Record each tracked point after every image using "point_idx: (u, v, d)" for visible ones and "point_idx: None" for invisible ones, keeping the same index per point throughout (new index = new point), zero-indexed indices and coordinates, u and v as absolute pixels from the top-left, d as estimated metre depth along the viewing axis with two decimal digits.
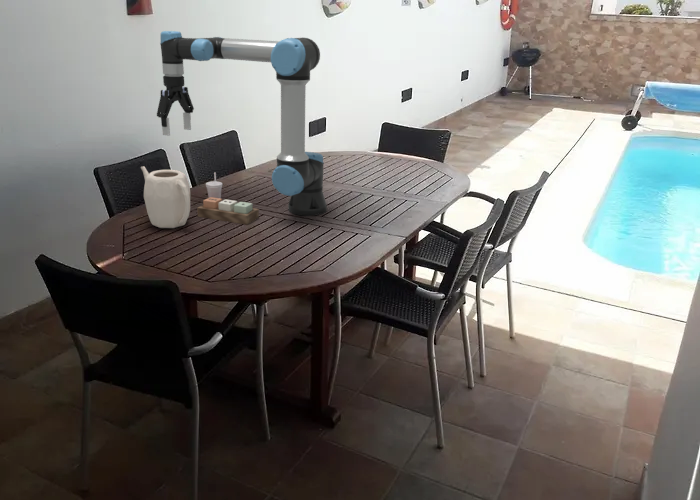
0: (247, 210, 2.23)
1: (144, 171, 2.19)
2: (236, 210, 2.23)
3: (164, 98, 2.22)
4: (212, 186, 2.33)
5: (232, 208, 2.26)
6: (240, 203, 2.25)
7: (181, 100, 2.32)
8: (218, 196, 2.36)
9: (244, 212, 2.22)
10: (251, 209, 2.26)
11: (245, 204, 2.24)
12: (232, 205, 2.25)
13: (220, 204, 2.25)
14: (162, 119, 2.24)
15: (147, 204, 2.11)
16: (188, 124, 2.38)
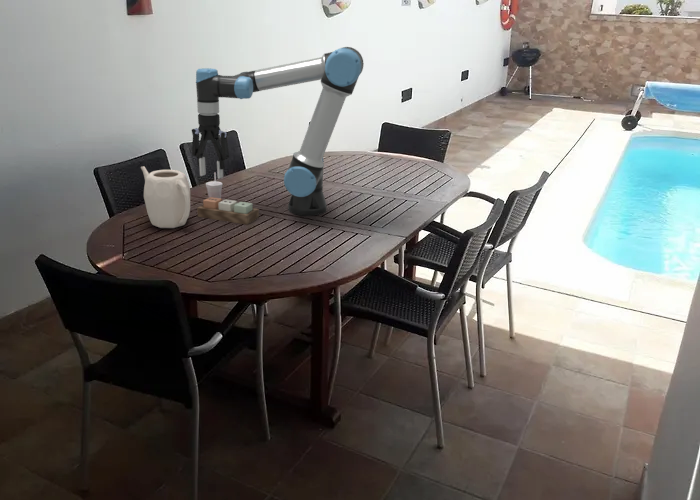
0: (247, 210, 2.23)
1: (144, 171, 2.19)
2: (236, 210, 2.23)
3: None
4: (212, 186, 2.33)
5: (232, 208, 2.26)
6: (240, 203, 2.25)
7: None
8: (218, 196, 2.36)
9: (244, 212, 2.22)
10: (251, 209, 2.26)
11: (245, 204, 2.24)
12: (232, 205, 2.25)
13: (220, 204, 2.25)
14: None
15: (147, 204, 2.11)
16: None
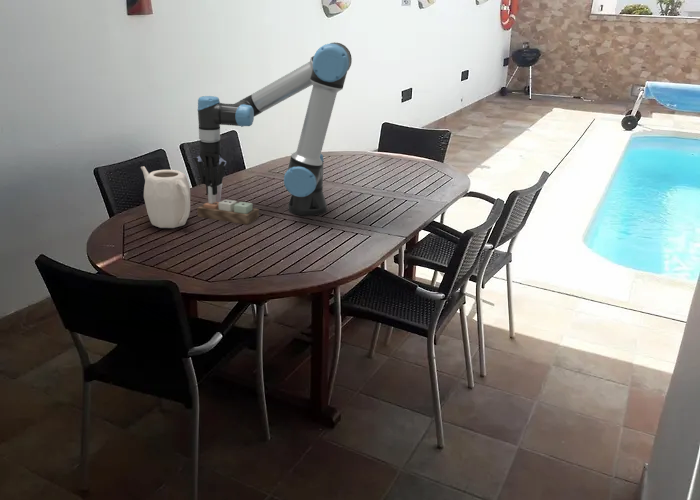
0: (247, 210, 2.23)
1: (144, 171, 2.19)
2: (236, 210, 2.23)
3: None
4: None
5: (232, 208, 2.26)
6: (240, 203, 2.25)
7: None
8: (218, 196, 2.36)
9: (244, 212, 2.22)
10: (251, 209, 2.26)
11: (245, 204, 2.24)
12: (232, 205, 2.25)
13: (220, 204, 2.25)
14: None
15: (147, 204, 2.11)
16: None
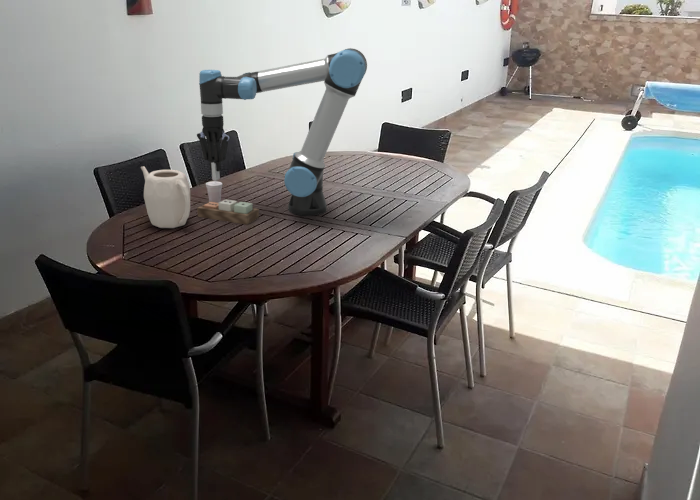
0: (247, 210, 2.23)
1: (144, 171, 2.19)
2: (236, 210, 2.23)
3: None
4: (212, 186, 2.33)
5: (232, 208, 2.26)
6: (240, 203, 2.25)
7: None
8: (218, 196, 2.36)
9: (244, 212, 2.22)
10: (251, 209, 2.26)
11: (245, 204, 2.24)
12: (232, 205, 2.25)
13: (220, 204, 2.25)
14: None
15: (147, 204, 2.11)
16: None
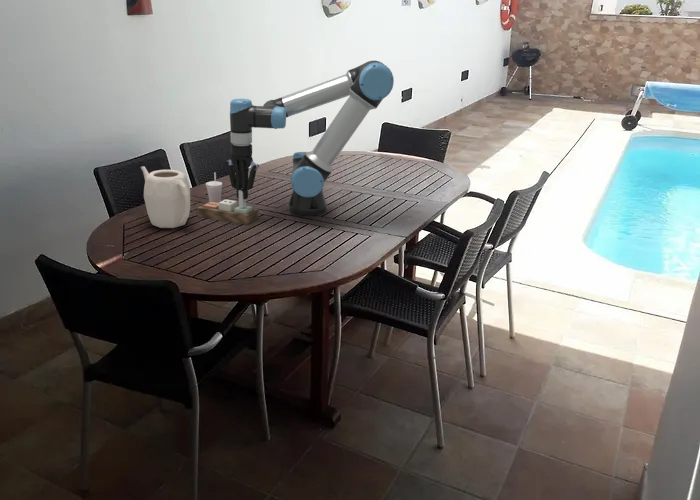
0: None
1: (144, 171, 2.19)
2: None
3: None
4: (212, 186, 2.33)
5: (232, 208, 2.26)
6: None
7: None
8: (218, 196, 2.36)
9: None
10: None
11: (245, 207, 2.25)
12: (232, 205, 2.25)
13: (220, 204, 2.25)
14: None
15: (147, 204, 2.11)
16: None
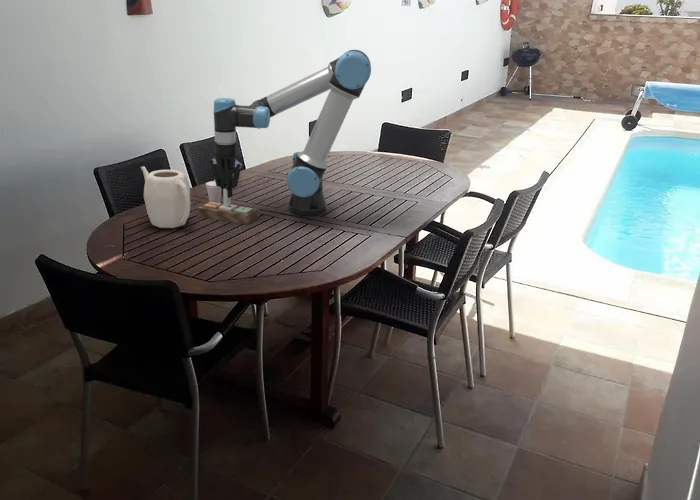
0: None
1: (144, 171, 2.19)
2: None
3: None
4: (212, 186, 2.33)
5: None
6: (240, 208, 2.26)
7: None
8: (218, 196, 2.36)
9: None
10: None
11: (245, 209, 2.25)
12: (232, 209, 2.26)
13: (220, 208, 2.25)
14: None
15: (147, 204, 2.11)
16: None
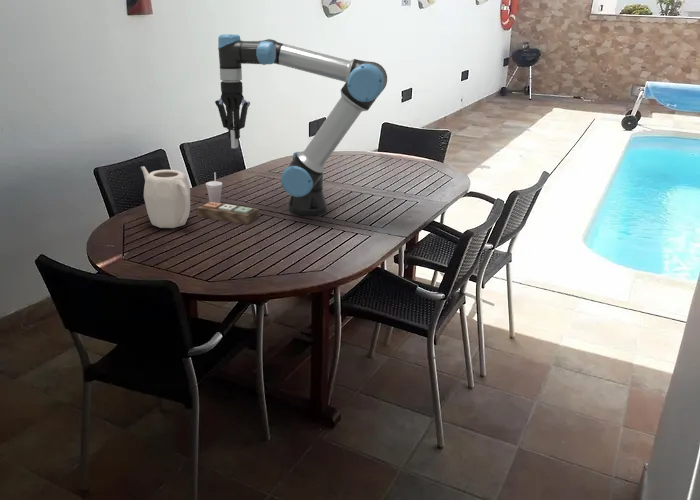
0: None
1: (144, 171, 2.19)
2: None
3: None
4: (212, 186, 2.33)
5: None
6: (240, 208, 2.26)
7: None
8: (218, 196, 2.36)
9: None
10: None
11: (245, 209, 2.25)
12: (232, 210, 2.26)
13: (220, 209, 2.26)
14: None
15: (147, 204, 2.11)
16: None
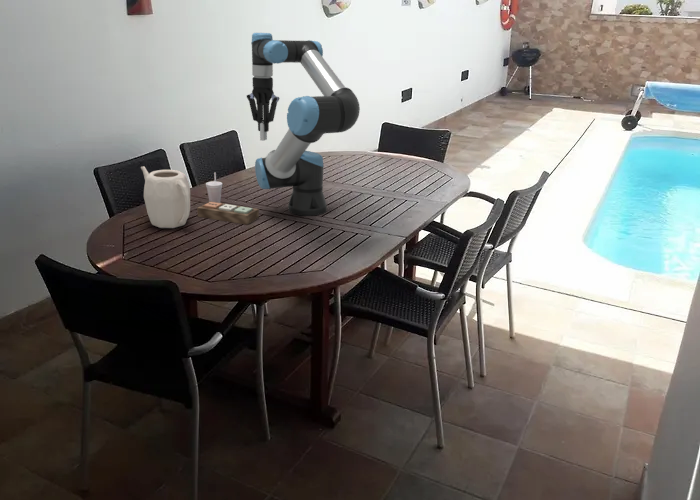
0: None
1: (144, 171, 2.19)
2: None
3: None
4: (212, 186, 2.33)
5: None
6: (240, 208, 2.26)
7: None
8: (218, 196, 2.36)
9: None
10: None
11: (245, 209, 2.25)
12: (232, 210, 2.26)
13: (220, 209, 2.26)
14: None
15: (147, 204, 2.11)
16: None
